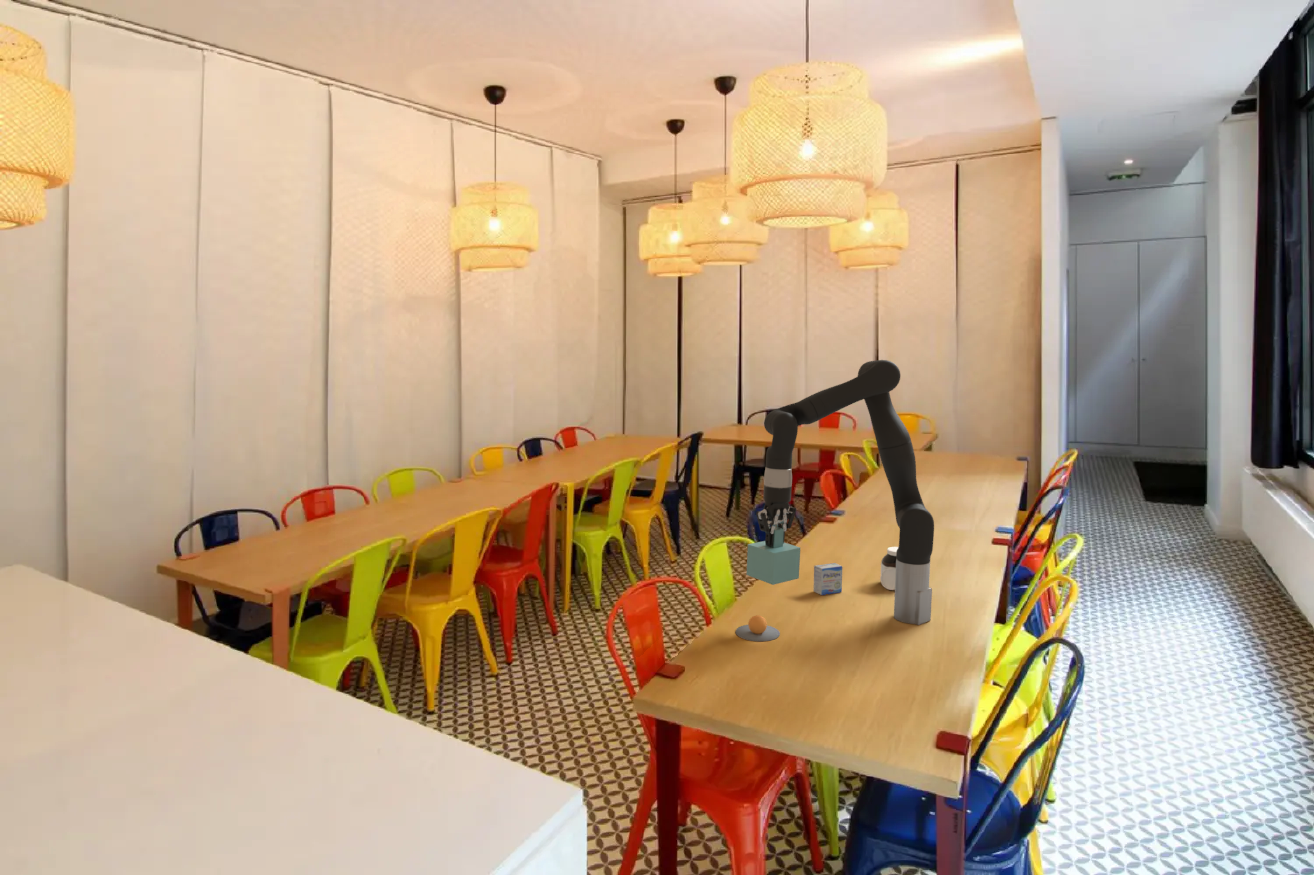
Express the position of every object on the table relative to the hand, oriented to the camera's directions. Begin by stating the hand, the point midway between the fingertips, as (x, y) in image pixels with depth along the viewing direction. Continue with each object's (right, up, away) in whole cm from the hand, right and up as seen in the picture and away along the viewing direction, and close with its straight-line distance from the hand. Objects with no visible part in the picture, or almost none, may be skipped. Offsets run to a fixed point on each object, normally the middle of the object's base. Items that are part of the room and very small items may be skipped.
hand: (774, 544), depth 216 cm
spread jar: (+45, -19, +38) cm, 61 cm away
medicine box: (+21, -19, +32) cm, 43 cm away
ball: (-5, -21, -3) cm, 22 cm away
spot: (-5, -24, -2) cm, 24 cm away
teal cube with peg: (0, -9, +1) cm, 9 cm away
